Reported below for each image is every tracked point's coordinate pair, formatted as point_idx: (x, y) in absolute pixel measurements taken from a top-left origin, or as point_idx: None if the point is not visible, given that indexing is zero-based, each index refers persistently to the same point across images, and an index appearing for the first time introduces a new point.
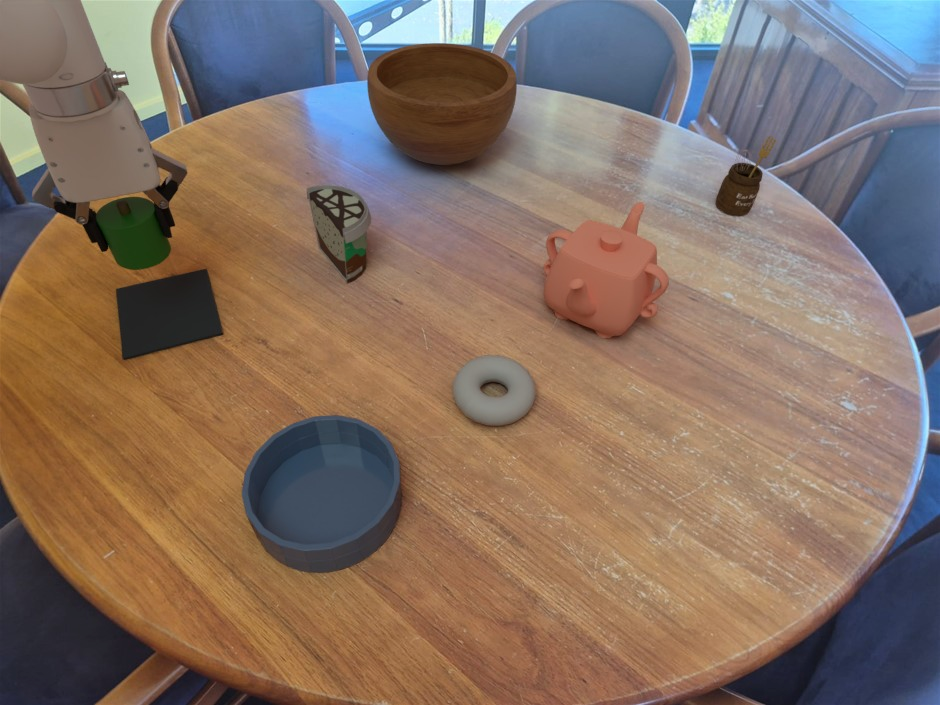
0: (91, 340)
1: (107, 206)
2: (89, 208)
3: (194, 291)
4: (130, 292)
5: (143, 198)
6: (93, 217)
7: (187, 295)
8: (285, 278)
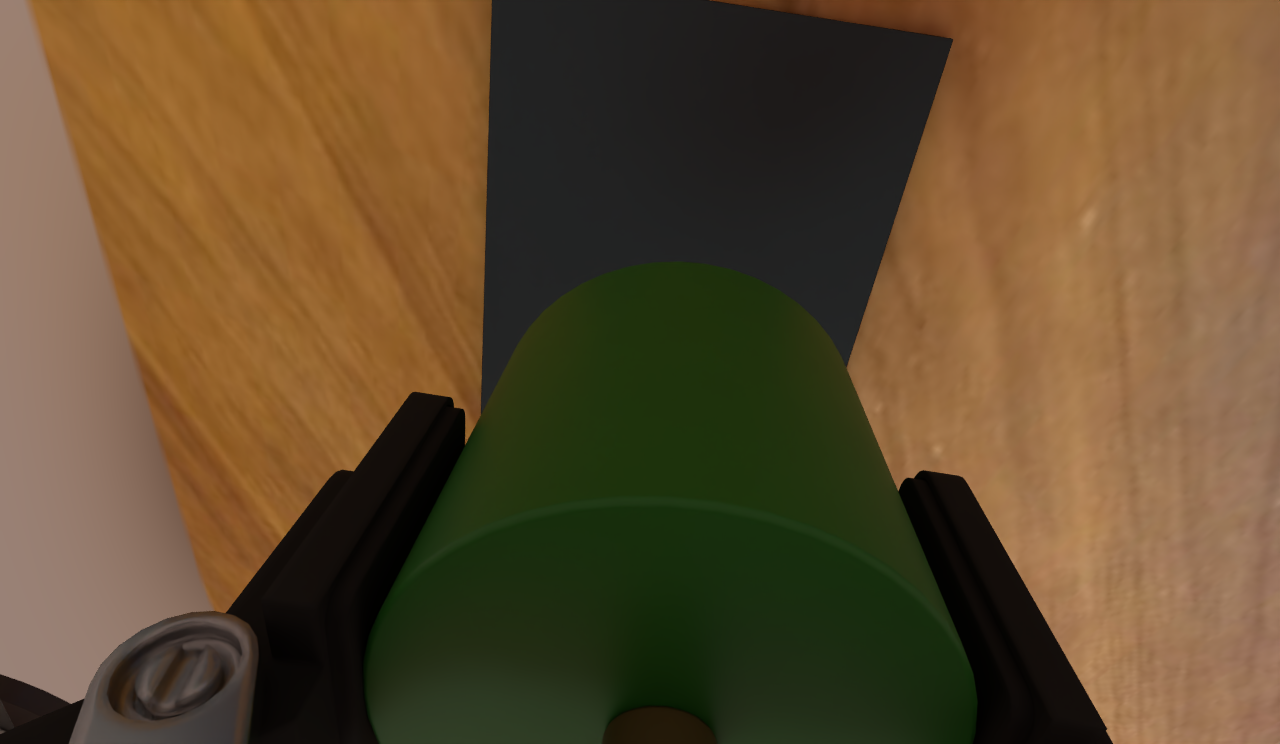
0: (381, 264)
1: (495, 581)
2: (285, 729)
3: (822, 197)
4: (556, 44)
5: (929, 634)
6: (342, 710)
7: (784, 209)
8: (1201, 298)
